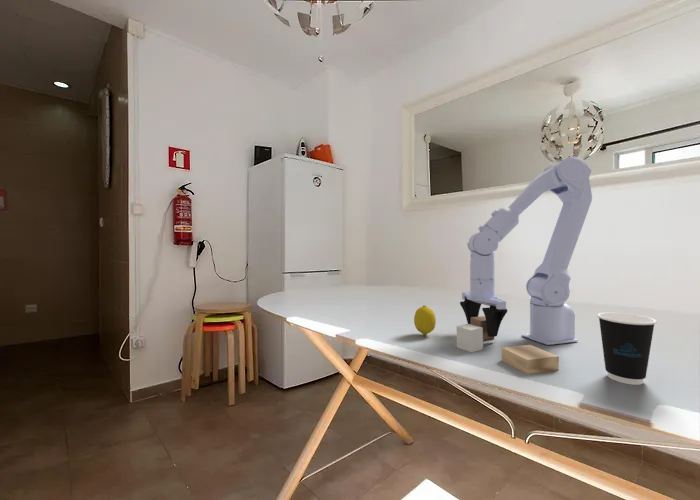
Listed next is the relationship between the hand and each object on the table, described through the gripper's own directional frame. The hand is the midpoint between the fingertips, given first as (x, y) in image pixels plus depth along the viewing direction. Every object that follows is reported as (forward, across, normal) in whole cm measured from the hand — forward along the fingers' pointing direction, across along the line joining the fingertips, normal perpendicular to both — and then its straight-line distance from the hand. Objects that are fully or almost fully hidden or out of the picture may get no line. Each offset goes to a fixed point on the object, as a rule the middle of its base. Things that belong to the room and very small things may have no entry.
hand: (482, 332), depth 81 cm
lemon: (+2, -6, -13) cm, 14 cm away
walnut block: (+2, 0, 0) cm, 2 cm away
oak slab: (+2, +18, -3) cm, 18 cm away
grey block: (+2, +6, -8) cm, 10 cm away
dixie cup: (+2, +28, +8) cm, 29 cm away
